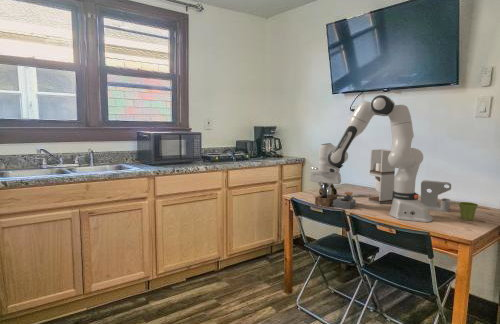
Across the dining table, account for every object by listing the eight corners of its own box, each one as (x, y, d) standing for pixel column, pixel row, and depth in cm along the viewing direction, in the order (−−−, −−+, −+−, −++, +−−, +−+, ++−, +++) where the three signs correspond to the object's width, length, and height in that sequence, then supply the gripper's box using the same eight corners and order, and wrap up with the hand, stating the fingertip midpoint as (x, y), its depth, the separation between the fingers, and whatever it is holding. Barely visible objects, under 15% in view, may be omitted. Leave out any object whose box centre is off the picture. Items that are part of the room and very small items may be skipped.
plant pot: (455, 218, 190) (456, 203, 189) (459, 215, 197) (460, 200, 196) (474, 222, 184) (475, 206, 182) (478, 218, 190) (480, 203, 189)
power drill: (344, 195, 249) (345, 161, 246) (322, 197, 242) (323, 162, 239) (338, 193, 256) (339, 160, 253) (316, 195, 249) (317, 161, 246)
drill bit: (327, 201, 221) (328, 183, 219) (325, 202, 218) (326, 184, 217) (322, 201, 222) (323, 183, 221) (320, 202, 220) (321, 183, 218)
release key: (352, 202, 224) (352, 192, 223) (350, 204, 221) (350, 193, 220) (346, 202, 226) (346, 191, 225) (344, 203, 223) (344, 192, 222)
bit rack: (337, 202, 228) (337, 194, 227) (328, 207, 215) (328, 199, 214) (324, 200, 233) (324, 193, 232) (315, 205, 220) (315, 197, 219)
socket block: (357, 204, 222) (357, 196, 222) (349, 209, 209) (350, 201, 209) (341, 202, 228) (341, 194, 228) (332, 206, 216) (333, 199, 215)
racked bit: (331, 202, 227) (332, 187, 226) (329, 203, 225) (330, 188, 224) (327, 201, 229) (327, 187, 228) (325, 202, 227) (325, 187, 225)
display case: (381, 199, 237) (383, 149, 233) (393, 202, 228) (395, 150, 223) (368, 200, 233) (370, 149, 229) (379, 204, 223) (382, 151, 219)
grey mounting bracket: (450, 209, 212) (452, 180, 209) (449, 212, 203) (451, 182, 201) (419, 204, 221) (421, 177, 219) (417, 208, 213) (418, 179, 211)
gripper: (308, 167, 221) (307, 188, 222) (338, 170, 209) (337, 192, 211) (312, 166, 226) (311, 187, 228) (342, 169, 215) (341, 190, 216)
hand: (324, 189), depth 219 cm, fingers closed on drill bit, 3 cm apart
